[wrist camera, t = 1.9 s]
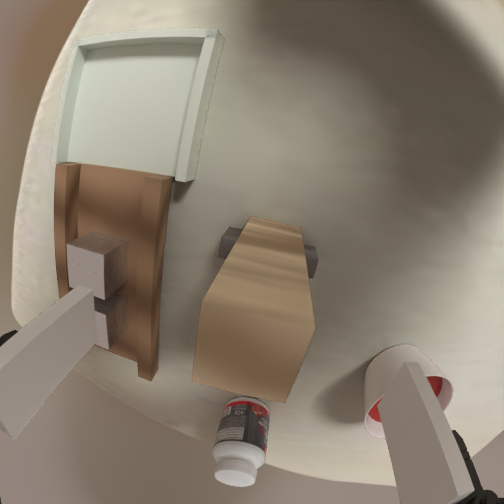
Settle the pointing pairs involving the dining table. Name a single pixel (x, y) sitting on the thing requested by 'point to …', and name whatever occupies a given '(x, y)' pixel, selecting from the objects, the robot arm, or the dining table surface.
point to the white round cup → (384, 374)
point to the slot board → (124, 226)
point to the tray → (138, 100)
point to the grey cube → (98, 263)
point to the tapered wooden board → (257, 312)
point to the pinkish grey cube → (110, 318)
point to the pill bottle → (241, 441)
